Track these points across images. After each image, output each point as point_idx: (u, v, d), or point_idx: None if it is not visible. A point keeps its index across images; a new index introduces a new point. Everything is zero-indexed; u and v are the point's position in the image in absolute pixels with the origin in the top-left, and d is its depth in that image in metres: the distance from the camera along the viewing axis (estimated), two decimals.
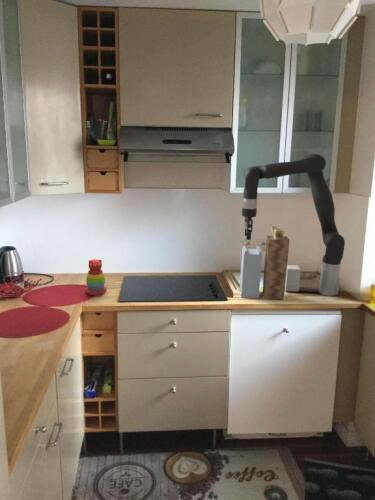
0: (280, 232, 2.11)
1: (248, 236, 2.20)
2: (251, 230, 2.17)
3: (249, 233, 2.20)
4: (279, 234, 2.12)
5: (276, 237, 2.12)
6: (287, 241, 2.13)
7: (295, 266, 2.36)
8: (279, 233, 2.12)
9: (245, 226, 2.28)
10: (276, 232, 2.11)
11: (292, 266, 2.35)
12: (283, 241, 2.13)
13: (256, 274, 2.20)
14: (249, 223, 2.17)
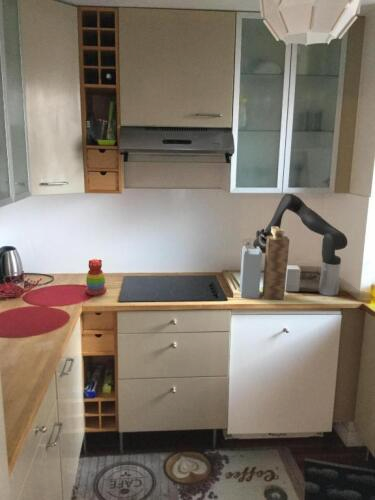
0: (280, 232, 2.11)
1: (261, 231, 2.37)
2: None
3: (260, 232, 2.38)
4: (279, 234, 2.12)
5: (276, 237, 2.12)
6: (287, 241, 2.13)
7: (295, 266, 2.36)
8: (279, 233, 2.12)
9: None
10: (276, 232, 2.11)
11: (292, 266, 2.35)
12: (283, 241, 2.13)
13: (256, 274, 2.20)
14: (256, 235, 2.44)
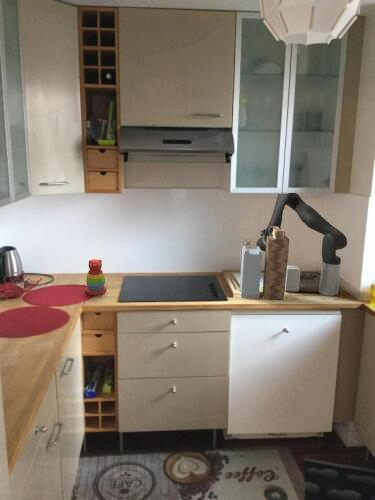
0: (280, 232, 2.11)
1: (269, 230, 2.23)
2: (265, 230, 2.27)
3: (269, 230, 2.25)
4: (279, 234, 2.12)
5: (276, 237, 2.12)
6: (287, 241, 2.13)
7: (295, 266, 2.36)
8: (279, 233, 2.12)
9: None
10: (276, 232, 2.11)
11: (292, 266, 2.35)
12: (283, 241, 2.13)
13: (256, 274, 2.20)
14: (261, 233, 2.29)
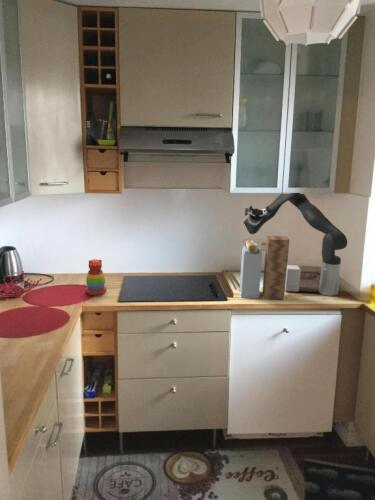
0: (253, 246, 2.17)
1: (249, 209, 2.36)
2: (245, 209, 2.40)
3: (248, 209, 2.37)
4: (252, 248, 2.17)
5: (249, 251, 2.17)
6: (287, 241, 2.13)
7: (295, 266, 2.36)
8: (252, 247, 2.17)
9: (264, 212, 2.39)
10: (249, 246, 2.17)
11: (292, 266, 2.35)
12: (283, 241, 2.13)
13: (256, 274, 2.20)
14: None
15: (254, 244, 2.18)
